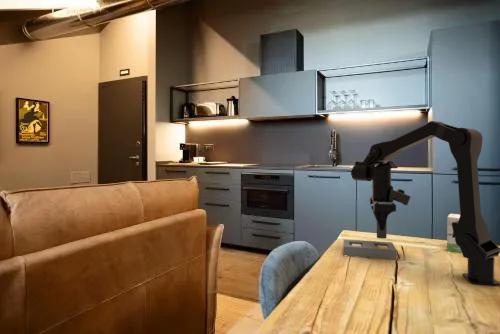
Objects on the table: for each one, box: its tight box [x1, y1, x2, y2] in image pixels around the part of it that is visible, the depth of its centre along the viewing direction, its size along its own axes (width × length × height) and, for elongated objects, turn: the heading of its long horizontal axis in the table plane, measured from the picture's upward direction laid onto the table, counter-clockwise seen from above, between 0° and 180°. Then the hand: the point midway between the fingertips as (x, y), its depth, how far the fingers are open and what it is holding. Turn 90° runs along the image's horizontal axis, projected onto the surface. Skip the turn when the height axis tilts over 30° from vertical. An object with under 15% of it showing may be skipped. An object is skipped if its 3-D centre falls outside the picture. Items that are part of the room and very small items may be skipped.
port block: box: [343, 239, 398, 260], centre depth 111 cm, size 10×16×4 cm, turn 75°
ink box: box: [446, 213, 462, 253], centre depth 116 cm, size 8×5×12 cm, turn 143°
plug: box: [376, 221, 388, 240], centre depth 110 cm, size 3×3×8 cm
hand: (381, 229), depth 110 cm, fingers closed on plug, 3 cm apart
